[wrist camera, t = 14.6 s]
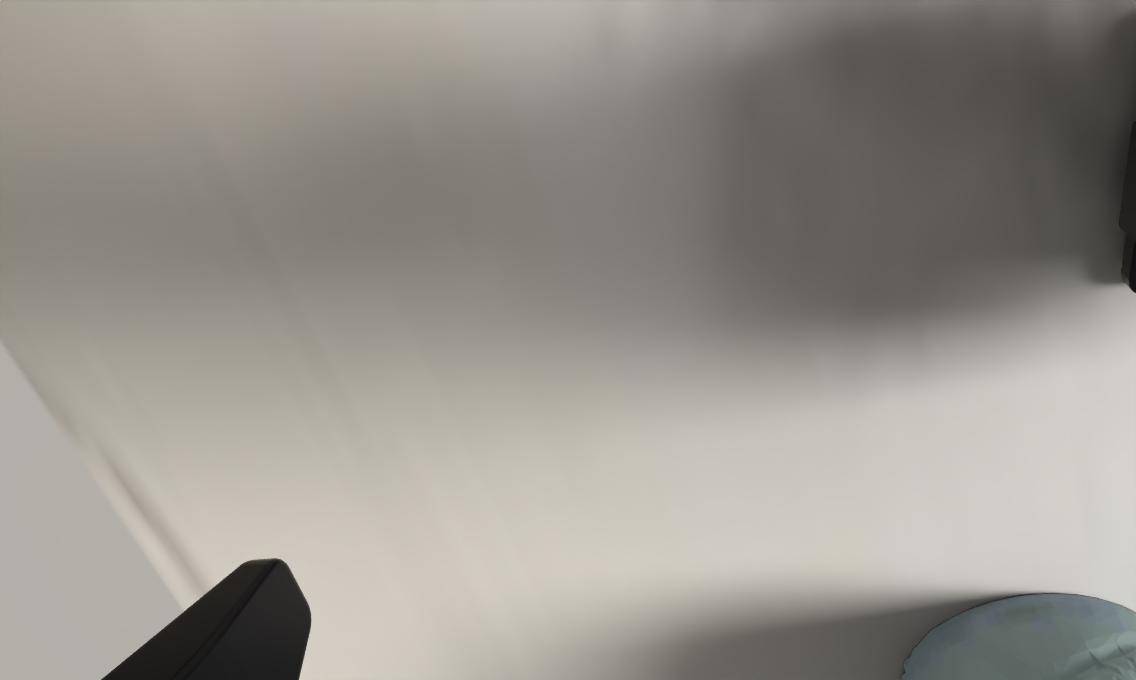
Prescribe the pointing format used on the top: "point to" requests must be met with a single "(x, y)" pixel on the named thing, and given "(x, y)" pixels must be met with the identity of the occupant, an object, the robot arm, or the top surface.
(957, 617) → the teal canister
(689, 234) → the top surface
